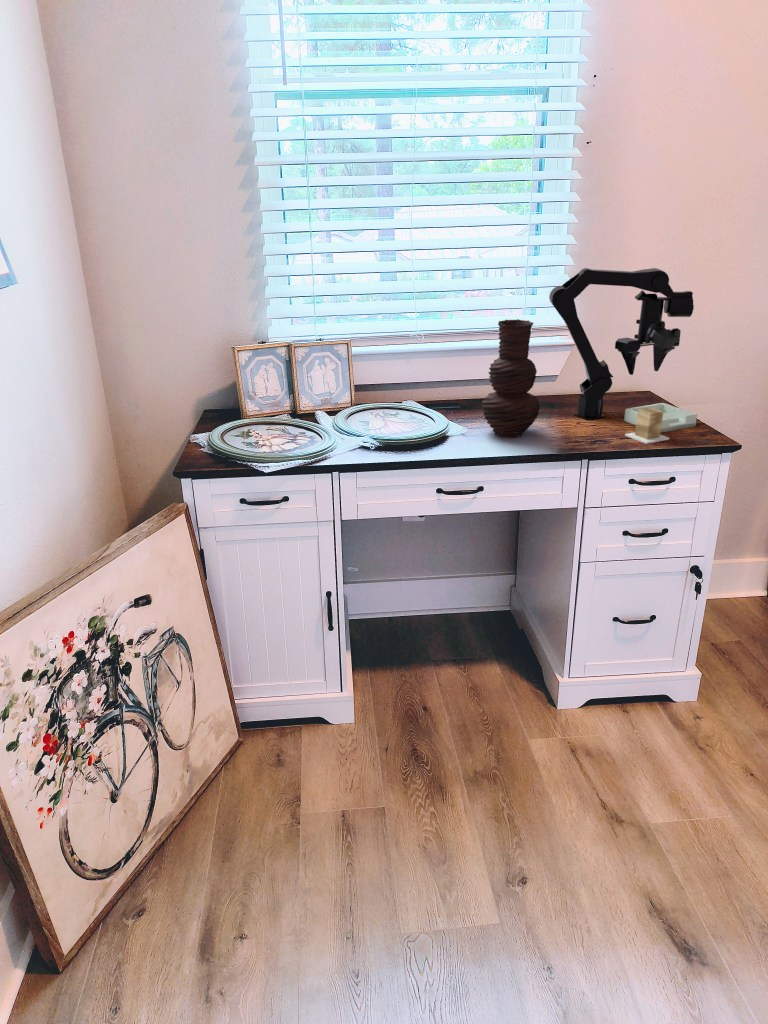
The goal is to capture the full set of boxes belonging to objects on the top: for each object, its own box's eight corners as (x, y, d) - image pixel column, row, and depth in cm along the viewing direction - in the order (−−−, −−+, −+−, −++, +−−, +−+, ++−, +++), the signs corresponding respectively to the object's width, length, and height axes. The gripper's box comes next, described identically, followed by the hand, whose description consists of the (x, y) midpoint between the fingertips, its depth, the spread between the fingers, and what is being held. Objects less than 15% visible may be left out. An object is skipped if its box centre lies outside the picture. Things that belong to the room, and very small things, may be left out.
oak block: (646, 439, 200) (650, 414, 197) (634, 434, 203) (638, 409, 201) (659, 437, 201) (663, 411, 199) (647, 432, 205) (651, 407, 202)
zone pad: (646, 443, 198) (646, 442, 198) (624, 435, 204) (625, 433, 204) (669, 439, 201) (669, 438, 201) (647, 431, 207) (647, 429, 207)
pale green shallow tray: (657, 433, 206) (658, 420, 204) (624, 420, 216) (625, 408, 215) (695, 426, 211) (697, 414, 210) (661, 414, 222) (662, 402, 221)
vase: (468, 433, 208) (472, 321, 195) (506, 421, 217) (512, 315, 204) (511, 446, 197) (518, 329, 185) (549, 434, 206) (558, 322, 194)
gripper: (645, 324, 198) (638, 382, 204) (698, 318, 205) (689, 375, 211) (616, 317, 207) (610, 374, 213) (668, 312, 214) (660, 367, 221)
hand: (643, 372), depth 214 cm, fingers open, 9 cm apart
